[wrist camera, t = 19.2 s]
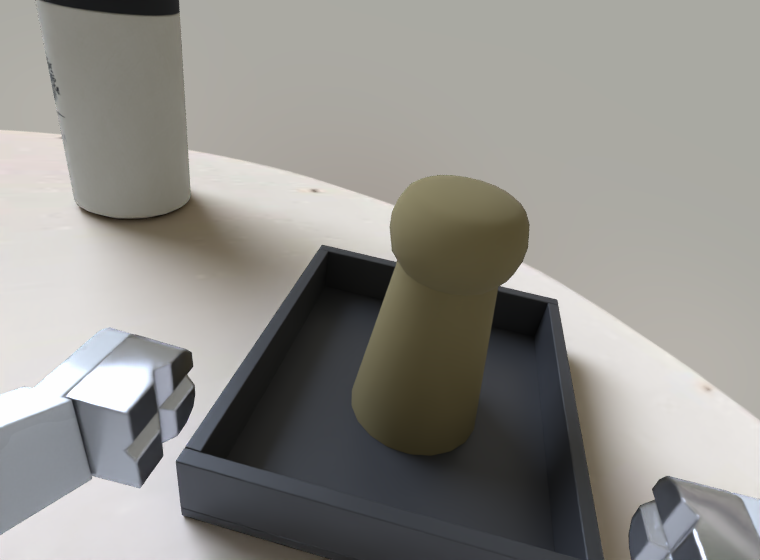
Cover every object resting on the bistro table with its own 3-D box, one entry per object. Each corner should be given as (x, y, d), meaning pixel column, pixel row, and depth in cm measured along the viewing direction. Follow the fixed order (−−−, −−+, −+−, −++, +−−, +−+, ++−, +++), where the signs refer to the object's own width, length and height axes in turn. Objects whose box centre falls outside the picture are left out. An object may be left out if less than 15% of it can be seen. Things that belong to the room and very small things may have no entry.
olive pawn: (489, 389, 25) (564, 188, 19) (454, 479, 21) (538, 247, 15) (383, 344, 27) (421, 147, 21) (327, 417, 22) (356, 188, 16)
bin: (573, 632, 17) (609, 584, 15) (181, 515, 18) (175, 461, 16) (540, 340, 30) (557, 299, 29) (318, 286, 32) (321, 244, 30)
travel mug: (199, 183, 42) (187, -76, 32) (177, 226, 35) (153, -83, 26) (98, 173, 41) (53, -100, 31) (55, 217, 34) (-18, -113, 25)
